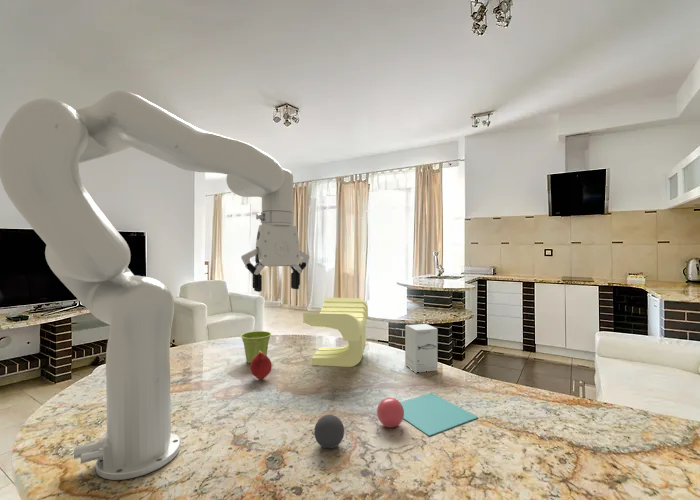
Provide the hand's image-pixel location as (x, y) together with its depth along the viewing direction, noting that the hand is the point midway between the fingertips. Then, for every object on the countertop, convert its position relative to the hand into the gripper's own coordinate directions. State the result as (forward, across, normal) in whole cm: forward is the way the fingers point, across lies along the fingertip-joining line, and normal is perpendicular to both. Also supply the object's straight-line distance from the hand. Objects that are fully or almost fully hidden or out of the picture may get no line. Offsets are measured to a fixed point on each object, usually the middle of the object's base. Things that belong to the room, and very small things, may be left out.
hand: (276, 289), depth 84 cm
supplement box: (+26, +43, -7) cm, 51 cm away
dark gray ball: (+24, 0, -25) cm, 35 cm away
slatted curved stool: (+26, +28, +14) cm, 41 cm away
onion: (+26, +1, +13) cm, 29 cm away
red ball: (+23, +14, -26) cm, 38 cm away
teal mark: (+26, +24, -28) cm, 45 cm away
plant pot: (+26, +6, +28) cm, 39 cm away
